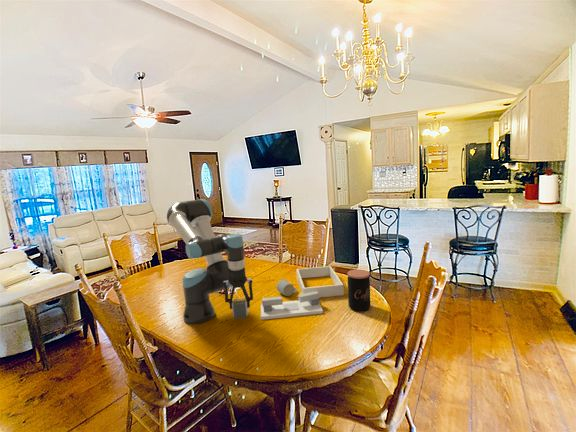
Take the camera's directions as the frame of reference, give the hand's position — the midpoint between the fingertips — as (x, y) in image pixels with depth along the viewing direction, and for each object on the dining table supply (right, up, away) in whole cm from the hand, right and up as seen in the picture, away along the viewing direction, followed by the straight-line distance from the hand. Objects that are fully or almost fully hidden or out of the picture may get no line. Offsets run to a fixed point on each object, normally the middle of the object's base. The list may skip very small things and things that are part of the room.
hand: (240, 314), depth 150 cm
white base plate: (+24, -1, +10) cm, 26 cm away
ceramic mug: (+22, +2, +30) cm, 38 cm away
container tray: (+41, +5, +37) cm, 55 cm away
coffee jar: (+58, +1, +7) cm, 58 cm away
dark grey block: (0, -1, 0) cm, 0 cm away
